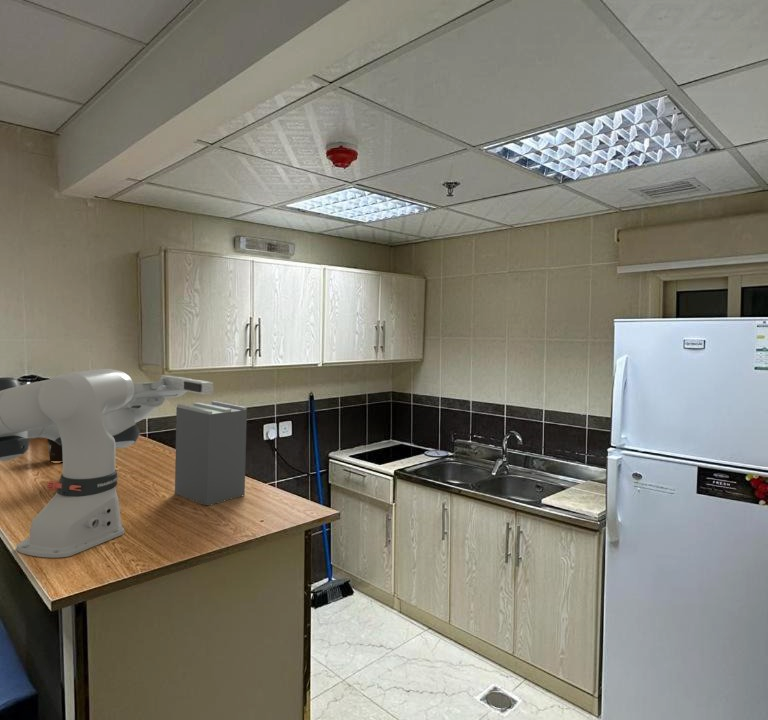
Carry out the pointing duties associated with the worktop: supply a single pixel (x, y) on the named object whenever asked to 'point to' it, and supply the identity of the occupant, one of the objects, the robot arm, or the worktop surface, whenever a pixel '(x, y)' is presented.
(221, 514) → the worktop surface
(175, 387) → the brushed metal post
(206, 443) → the tall grey pillar
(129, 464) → the worktop surface
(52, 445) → the coffee mug
